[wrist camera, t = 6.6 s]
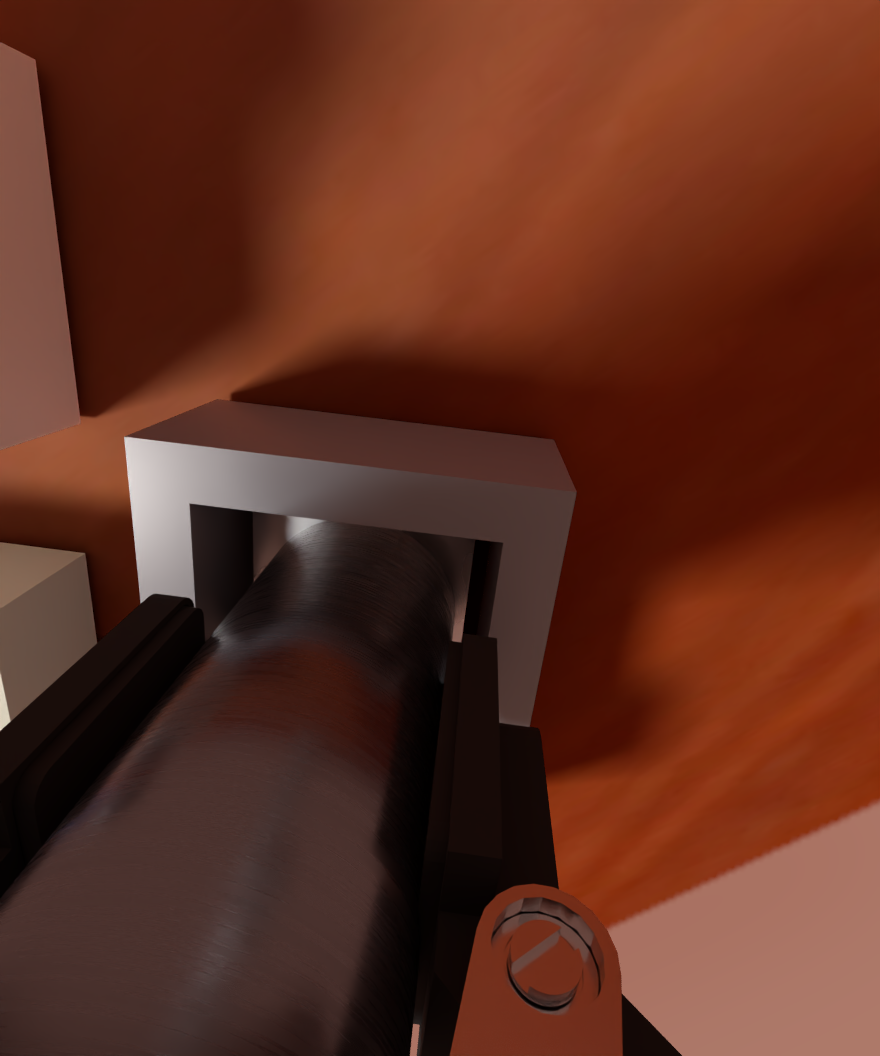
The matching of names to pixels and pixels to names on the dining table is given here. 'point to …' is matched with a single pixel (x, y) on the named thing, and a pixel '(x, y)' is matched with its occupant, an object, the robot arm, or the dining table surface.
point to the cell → (252, 831)
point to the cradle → (353, 509)
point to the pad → (445, 549)
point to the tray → (40, 621)
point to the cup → (30, 270)
